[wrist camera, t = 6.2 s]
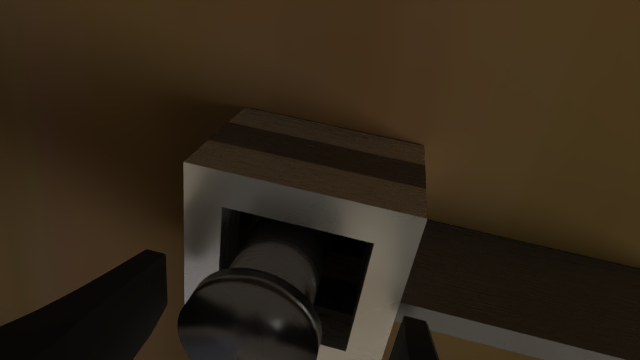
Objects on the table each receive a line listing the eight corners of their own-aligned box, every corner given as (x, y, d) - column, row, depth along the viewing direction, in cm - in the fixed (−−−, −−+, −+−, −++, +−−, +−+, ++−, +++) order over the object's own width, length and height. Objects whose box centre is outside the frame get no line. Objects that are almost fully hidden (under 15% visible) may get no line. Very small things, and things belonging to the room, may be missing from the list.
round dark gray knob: (371, 218, 18) (343, 378, 11) (296, 247, 19) (231, 404, 13) (325, 142, 17) (262, 269, 10) (249, 180, 18) (149, 312, 11)
